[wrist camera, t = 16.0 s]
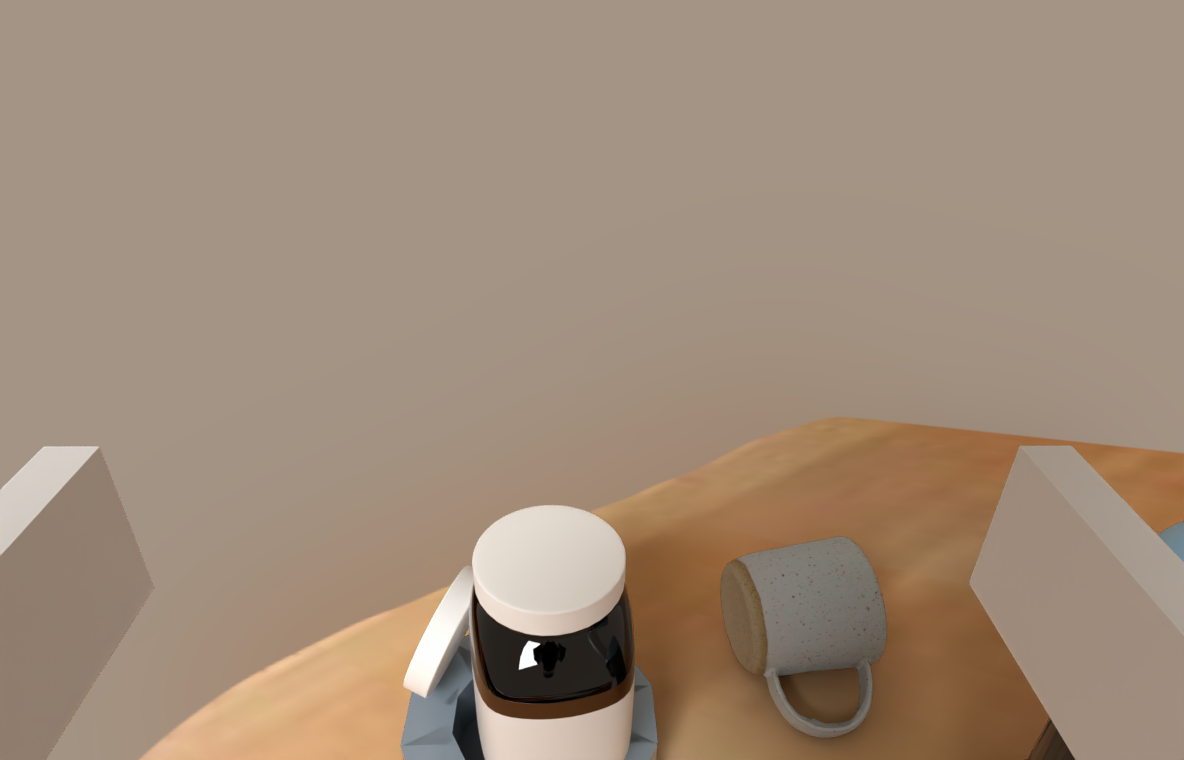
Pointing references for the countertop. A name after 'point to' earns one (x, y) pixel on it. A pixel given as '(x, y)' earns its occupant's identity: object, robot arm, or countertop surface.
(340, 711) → the countertop surface
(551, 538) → the spread jar
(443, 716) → the slate bowl
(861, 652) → the ceramic mug
